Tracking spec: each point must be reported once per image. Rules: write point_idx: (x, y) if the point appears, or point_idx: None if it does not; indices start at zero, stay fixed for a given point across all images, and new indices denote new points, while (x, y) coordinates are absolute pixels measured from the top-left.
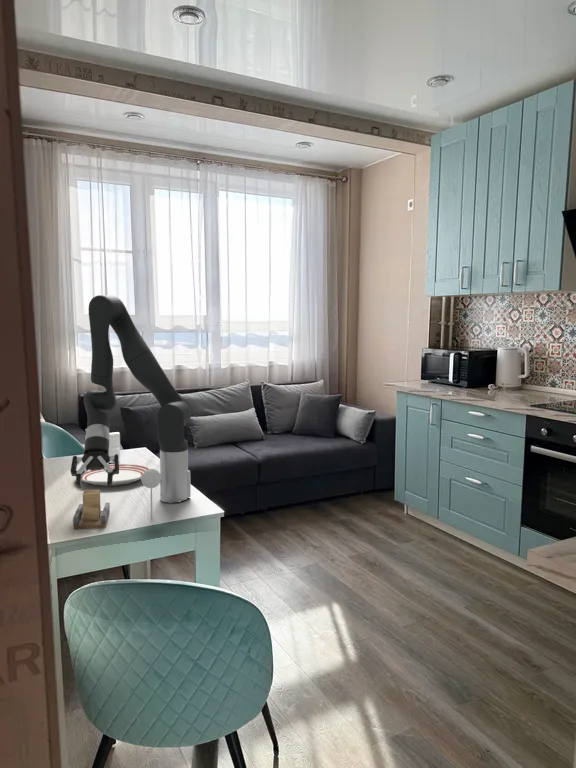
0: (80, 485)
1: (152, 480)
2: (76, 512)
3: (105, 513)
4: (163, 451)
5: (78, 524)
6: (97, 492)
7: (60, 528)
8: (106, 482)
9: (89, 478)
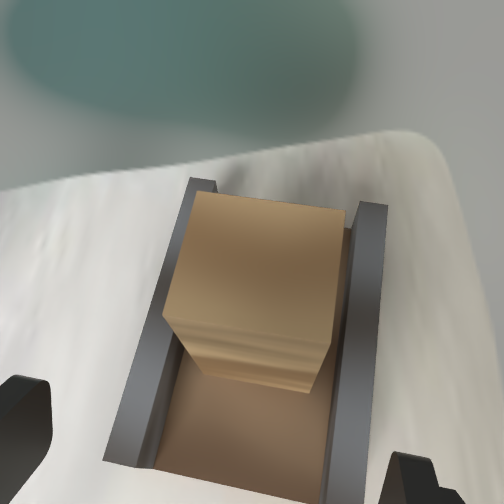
0: (388, 482)
1: None
2: (373, 297)
3: (183, 216)
4: None
5: (348, 247)
6: (203, 224)
7: (449, 281)
8: None
9: None
